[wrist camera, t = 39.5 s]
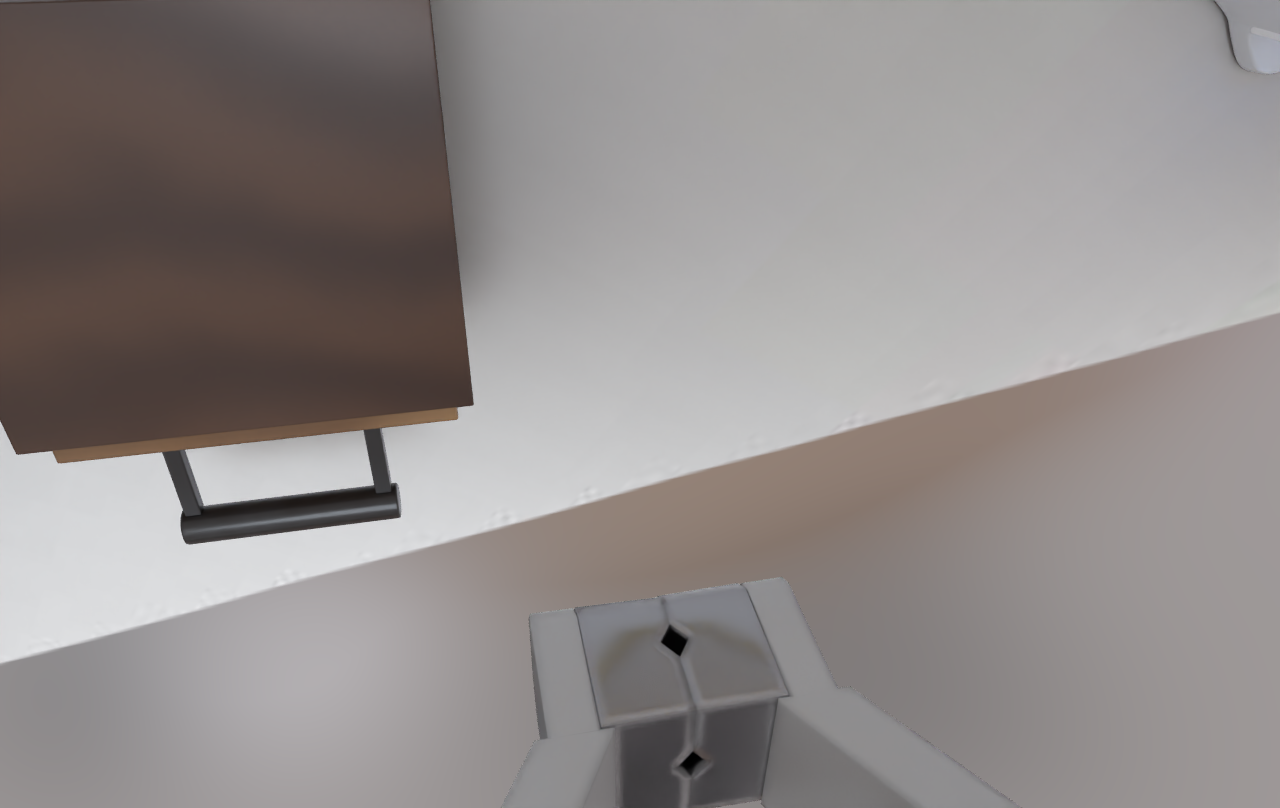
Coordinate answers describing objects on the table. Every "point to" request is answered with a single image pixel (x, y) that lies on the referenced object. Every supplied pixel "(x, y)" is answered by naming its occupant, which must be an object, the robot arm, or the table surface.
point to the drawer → (276, 511)
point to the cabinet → (222, 219)
